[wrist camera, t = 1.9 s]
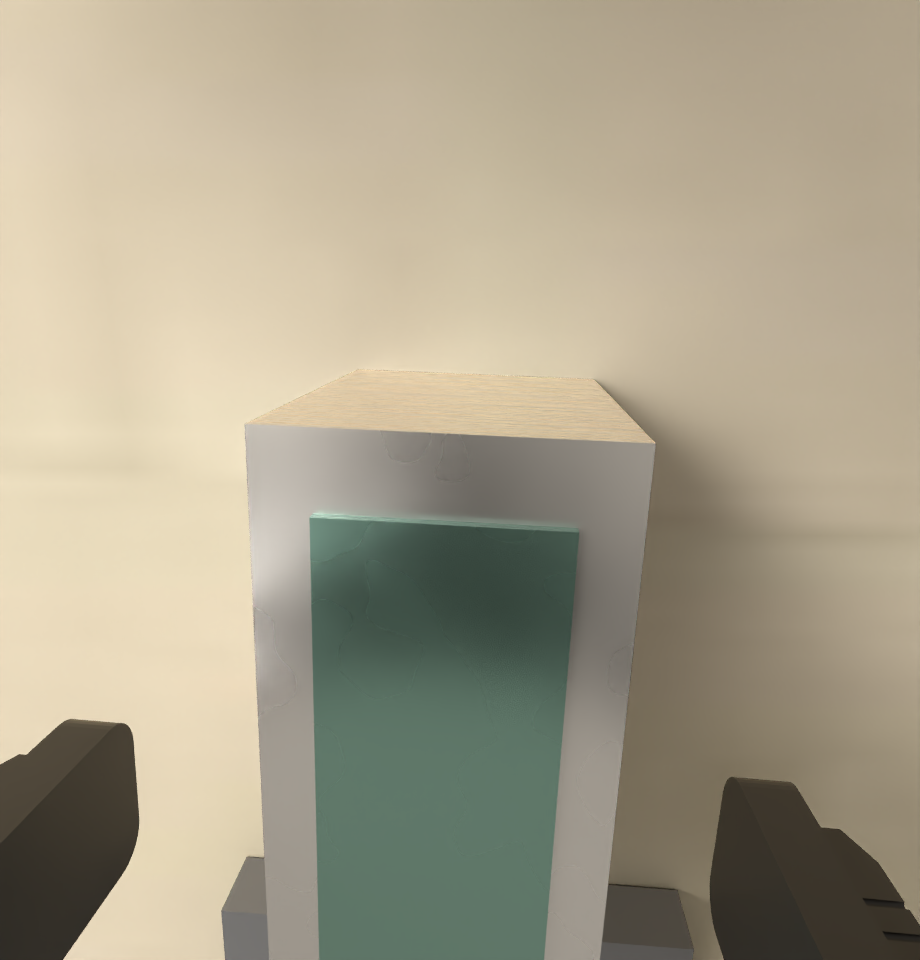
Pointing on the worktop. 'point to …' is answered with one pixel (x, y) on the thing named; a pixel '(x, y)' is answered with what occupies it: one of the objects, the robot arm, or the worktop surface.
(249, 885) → the grey wall plate
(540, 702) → the block
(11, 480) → the worktop surface
